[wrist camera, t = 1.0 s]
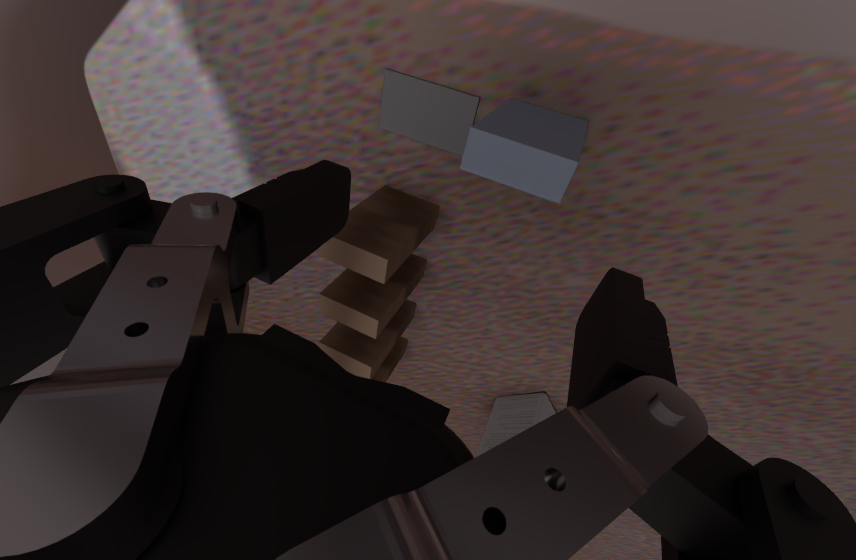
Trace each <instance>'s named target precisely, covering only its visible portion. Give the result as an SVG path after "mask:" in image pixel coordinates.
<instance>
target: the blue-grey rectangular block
mask: <svg viewBox="0 0 856 560" xmlns="http://www.w3.org/2000/svg"><path fill="white" fill-rule="evenodd" d="M588 122H589V121H585V120H582V119H579V118H576V117H572V116H569V115H566V114H562V113H559V112H556V111H553V110H549V109H546V108H543V107H539V106H536V105H533V104H529V103H526V102H523V101H520V100H516V99H513V98H511V99H510V100H508V101H507V102H505V103H504V104H502V105H501V106H500V107H498V108H497V109H495V110H494V111H493V112H491V113H490V114H488V115H487V116H485V117H484V118H483V119H481V120H480V121H478V122H477V123H476V124H474V125H473V126H471V127H470V131H469V135H468V139H467V143H466V146H465V150H464V154H463V158H462V162H461V166H460V169H462V170H464V171H467V172H470V173H473V174H476V175H479V176H481V177H484V178H487V179H490V180H493V181H496V182H498V183H501V184H504V185H507V186H510V187H513V188H516V189H518V190H521V191H524V192H527V193H530V194H533V195H535V196H538V197H541V198H544V199H547V200H550V201H552V202H555V203H558V204H560V202H561V199H562V197H563V195H564V193H565V191H566V189H567V186H568V184H569V182H570V180H571V178H572V176H573V174H574V171H575V169H576V167H577V165H578V163H579V159H580V155H581V151H582V147H583V143H584V138H585V134H586V130H587V126H588Z"/></svg>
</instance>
